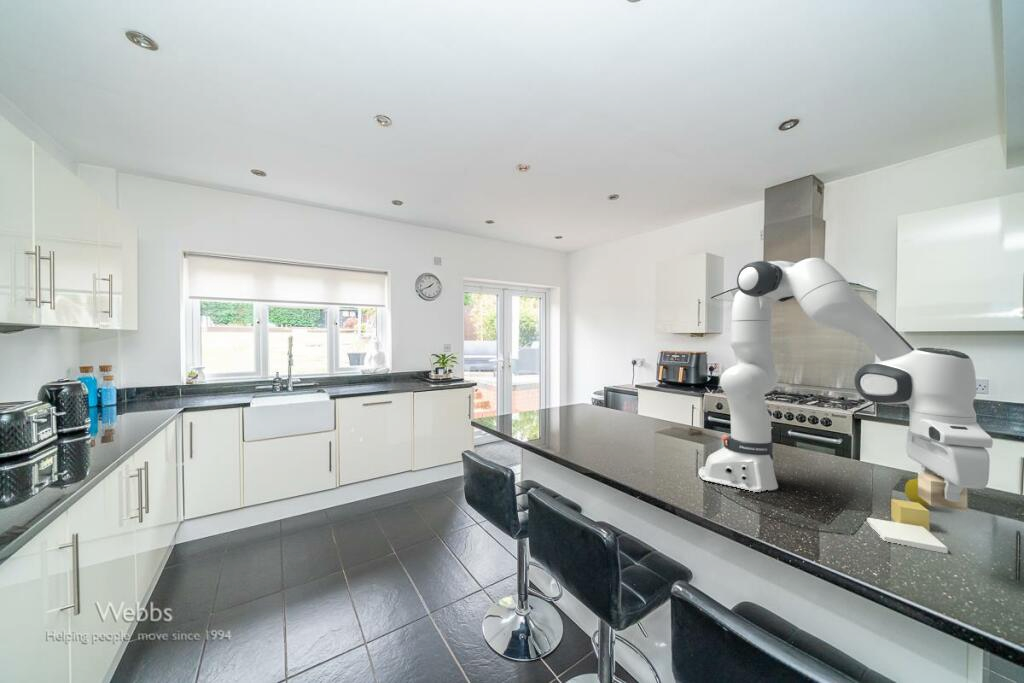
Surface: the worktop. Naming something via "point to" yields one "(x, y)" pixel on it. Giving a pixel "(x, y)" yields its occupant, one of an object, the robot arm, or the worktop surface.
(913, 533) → the plate
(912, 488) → the lemon
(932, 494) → the beech brick
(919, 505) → the mustard brick
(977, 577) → the worktop surface
